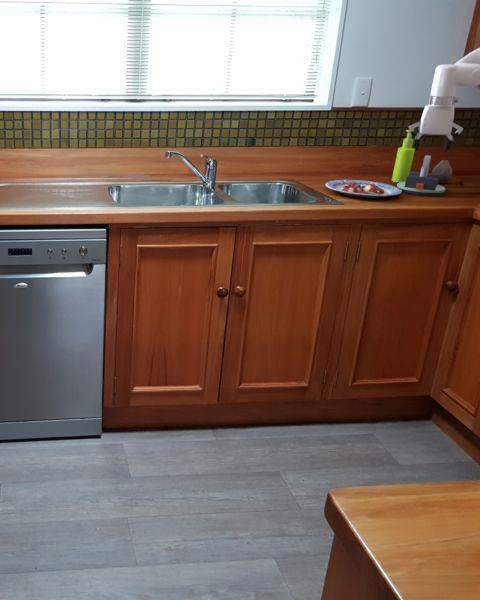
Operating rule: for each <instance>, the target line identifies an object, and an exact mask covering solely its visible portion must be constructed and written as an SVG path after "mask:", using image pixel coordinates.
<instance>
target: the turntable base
mask: <svg viewBox="0 0 480 600" xmlns="http://www.w3.org/2000/svg"><path fill="white" fill-rule="evenodd" d="M395 187H397V185H395ZM397 188H399V187H397ZM399 189H401V188H399ZM401 190H402V193H401V194H404V193H407V194H406V195H409V194H412V195H411V196H415V195H418V196H417V197H425V196H427V197H426V198H434V197H435V198H439V197H444V196H446V194H447V190H445V191H444V192H441V193H423V192H414V191H409V190H404V189H401Z"/></svg>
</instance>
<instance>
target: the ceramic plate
mask: <svg viewBox="0 0 480 600" xmlns="http://www.w3.org/2000/svg"><path fill="white" fill-rule="evenodd" d="M325 186H326V188H328V189H330V190H333V191H335V192H338V193H340V194H342V195H344V196H349V197H355V198H361V199H362V198H364V199H365V198H366V199H379V198H380V199H381V198H385V197H393V196H397V195H400V194H402V193H401V192H402V190H401V189H399V188H397V187H395V186H396V185H395V186H394V185H391V184H387V183H383V182H378V181H371V180H370V181H369V180H362V179H361V180H358V179H337V180H336V179H335V180H330V181H328V182H326V183H325Z"/></svg>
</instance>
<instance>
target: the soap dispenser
mask: <svg viewBox="0 0 480 600" xmlns="http://www.w3.org/2000/svg"><path fill="white" fill-rule="evenodd" d="M405 132H406V133H407V134H406V137H405V138H403V142H402V145H401V147H398V148H397V152H396V157H395V161H394V166H393V171H392V176H391V182H392V181H393V183H397V182H399V183H400V182H406V178H407V176H408V175H409V173H410V171H411V168H412V164H413V160H414V155H415V148H413V145H414V139H413V136H412V135H411V133H410V130H409V129H406V130H405Z"/></svg>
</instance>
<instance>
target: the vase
mask: <svg viewBox="0 0 480 600" xmlns="http://www.w3.org/2000/svg"><path fill="white" fill-rule="evenodd" d="M431 173H432V174H440V176H439V181H438V184H439V185H440V184H441V185H442V184H443V185H444V184H446V183H448V182H449V181H450V180H451V178H452V175H453V169H452V166H451V165H450V161H449V160H446V159H441V161H440V162H439V163H437V164H436V165H435V166H434V167H433V169H432V171H431Z"/></svg>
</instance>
